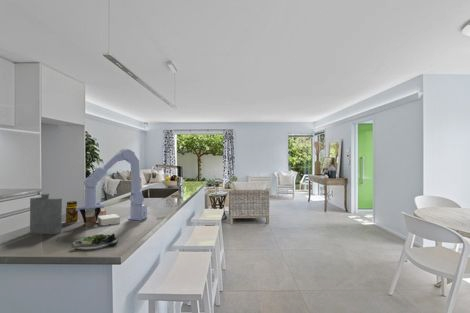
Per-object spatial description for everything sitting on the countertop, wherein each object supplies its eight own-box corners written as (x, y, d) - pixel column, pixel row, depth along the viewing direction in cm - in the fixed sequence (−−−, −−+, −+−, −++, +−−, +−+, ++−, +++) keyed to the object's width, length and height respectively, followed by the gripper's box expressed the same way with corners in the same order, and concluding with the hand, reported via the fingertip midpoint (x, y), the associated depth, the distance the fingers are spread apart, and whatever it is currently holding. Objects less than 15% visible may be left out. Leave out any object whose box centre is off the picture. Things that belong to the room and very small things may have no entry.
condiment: (73, 223, 163) (73, 202, 163) (59, 223, 164) (59, 202, 164) (81, 220, 170) (81, 200, 170) (68, 220, 171) (68, 200, 171)
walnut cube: (94, 223, 165) (94, 214, 165) (95, 224, 161) (96, 216, 161) (84, 224, 162) (84, 215, 162) (86, 226, 158) (86, 217, 158)
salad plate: (77, 256, 114) (77, 245, 114) (62, 246, 126) (62, 235, 126) (123, 245, 128) (123, 234, 128) (105, 236, 140) (105, 227, 140)
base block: (115, 220, 173) (115, 213, 173) (119, 223, 165) (120, 217, 165) (97, 222, 167) (97, 215, 167) (101, 226, 159) (101, 219, 159)
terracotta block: (105, 217, 180) (106, 209, 180) (103, 219, 175) (103, 210, 175) (97, 217, 180) (97, 209, 180) (94, 219, 175) (94, 211, 175)
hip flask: (62, 232, 146) (63, 193, 146) (57, 234, 142) (57, 194, 142) (33, 231, 147) (33, 192, 147) (27, 233, 143) (27, 193, 143)
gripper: (102, 196, 169) (102, 218, 169) (74, 198, 160) (74, 222, 161) (105, 197, 164) (105, 221, 164) (76, 200, 155) (76, 224, 155)
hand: (90, 221), depth 162 cm, fingers open, 5 cm apart
